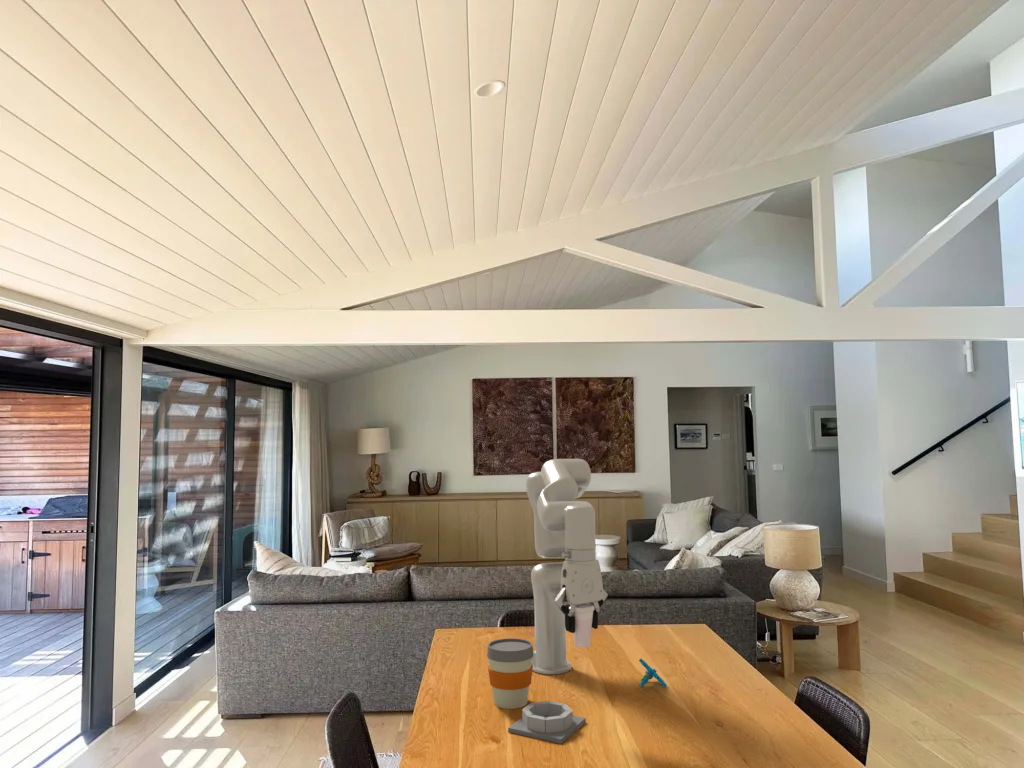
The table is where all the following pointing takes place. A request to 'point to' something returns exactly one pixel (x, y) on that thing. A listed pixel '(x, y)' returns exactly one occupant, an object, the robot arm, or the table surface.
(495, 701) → the reusable coffee cup
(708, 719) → the table surface
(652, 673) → the gear
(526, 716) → the bottle socket
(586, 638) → the smoothie
